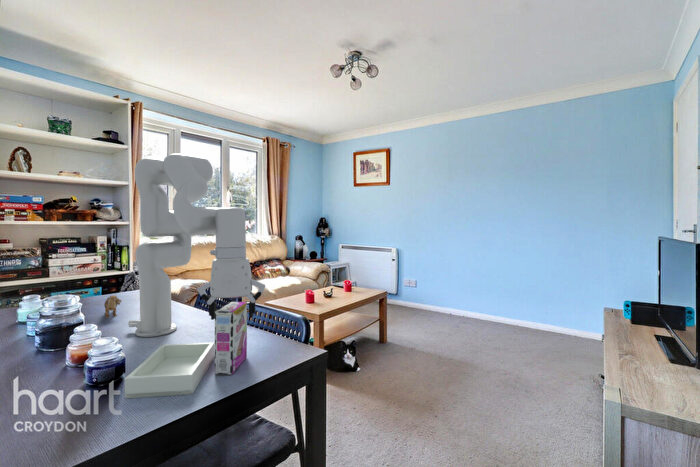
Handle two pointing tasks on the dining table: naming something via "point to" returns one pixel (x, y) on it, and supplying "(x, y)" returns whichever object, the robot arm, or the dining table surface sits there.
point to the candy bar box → (230, 337)
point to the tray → (170, 370)
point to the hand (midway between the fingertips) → (232, 317)
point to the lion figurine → (111, 305)
